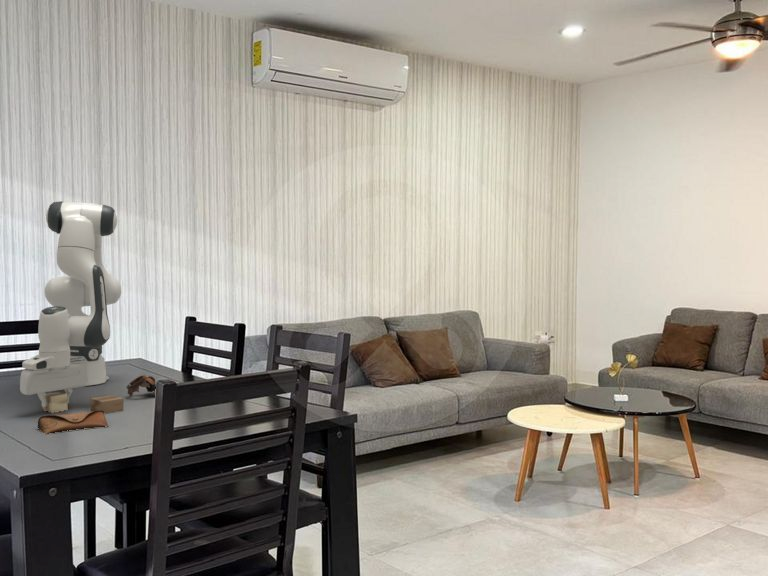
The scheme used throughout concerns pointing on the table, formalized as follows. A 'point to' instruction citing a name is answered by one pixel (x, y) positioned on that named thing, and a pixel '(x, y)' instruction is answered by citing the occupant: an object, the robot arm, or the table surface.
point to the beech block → (56, 402)
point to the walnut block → (107, 404)
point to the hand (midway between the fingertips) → (55, 405)
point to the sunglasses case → (71, 421)
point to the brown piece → (142, 384)
